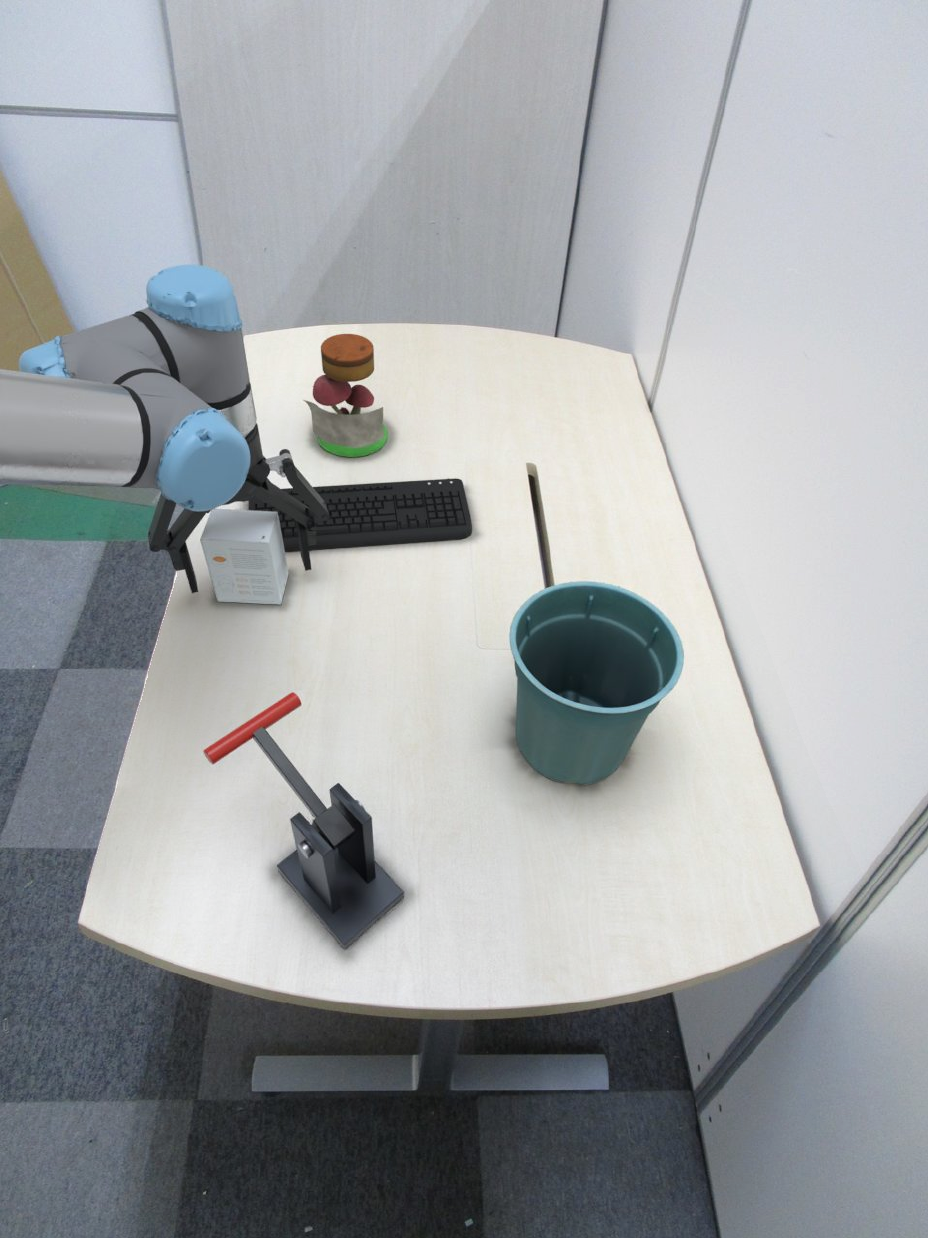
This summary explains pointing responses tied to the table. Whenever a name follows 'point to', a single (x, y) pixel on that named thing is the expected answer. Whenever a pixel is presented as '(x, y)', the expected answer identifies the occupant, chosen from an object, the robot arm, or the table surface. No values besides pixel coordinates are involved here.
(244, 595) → the small box
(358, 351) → the multicoloured stacked piece
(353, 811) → the bracket
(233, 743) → the lever
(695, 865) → the table surface
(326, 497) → the keyboard
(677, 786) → the table surface
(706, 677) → the table surface
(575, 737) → the flower pot
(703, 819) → the table surface
